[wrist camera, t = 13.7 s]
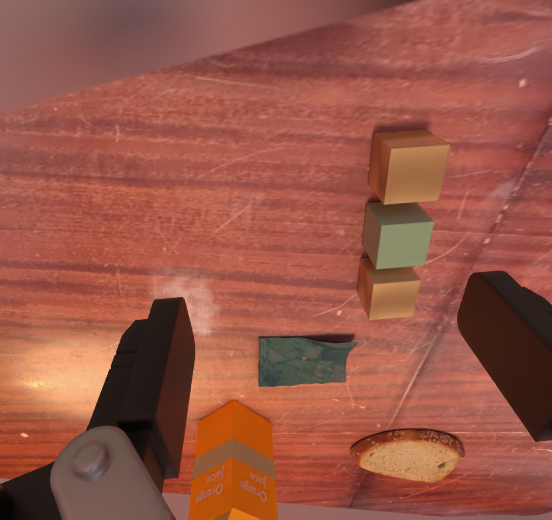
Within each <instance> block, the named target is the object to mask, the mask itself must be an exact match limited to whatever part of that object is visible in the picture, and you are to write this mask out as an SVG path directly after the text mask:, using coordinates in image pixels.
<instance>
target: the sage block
mask: <svg viewBox="0 0 552 520" xmlns="http://www.w3.org/2000/svg"><path fill="white" fill-rule="evenodd" d="M433 225H434V221H433V220H432V219H431V218H430V216H429V215H428V214H427V213H426V212H425V211H424V210H423V209H422V208H421V207H420V206H419V205H418V204H417V203H416V202H411V203H398V204H385V205H384V204H383V203H382V202H372V203H366V212H365V222H364V232H363V242H362V244H363V246H364V248H365V250H366V252H367V253H368V255H369V257H370V259H371V261H372V263H373V265H374V267H375V269H387V268H399V267H411V266H422V265H425V261H426V257H427V252H428V248H429V243H430V239H431V234H432V230H433Z"/></svg>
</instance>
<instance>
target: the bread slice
mask: <svg viewBox="0 0 552 520" xmlns="http://www.w3.org/2000/svg"><path fill="white" fill-rule="evenodd" d="M351 455H352V456H353V457H354V458H355V460H356V461H357V463H358V464H359V465H360V466H361V467H362V468H364V469H367V470H370V471H371V472H375V473H380V474H382V475H387V476H392V477H396V478H404V479H410V480H417V481H423V482H432V483H435V482H436V481H437V480H442V478H444V477H445V476H447V475H448V474H449V473H450V472H451V471H452V470H453V469H454V468H455V467H456V465H457V464H458V463H459V461H460V459H461V458H463V457H464V456H465V450H464V448H463V446H462V445H461V443H460V442H459V441H458V440H456V439H455V438H453V437H452V436H450V435H447V434H443V433H440V432H435V431H429V430H420V431H415V430H410V429H409V430H397V431H390V432H384V433H380V434H376V435H374V436H370V437H368V438H366V439H363V440H361V441H360V442H358V443H357V444H355V445H354V446H352V449H351Z"/></svg>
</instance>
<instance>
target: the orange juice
mask: <svg viewBox="0 0 552 520" xmlns="http://www.w3.org/2000/svg"><path fill="white" fill-rule="evenodd" d="M275 479H276V478H275V464H274V455H273V441H272V427H271V422H269V421H267V420H266V419H264V418H262V417H261V416H259V415H257V414H256V413H254V412H253V411H251V410H249V409H248V408H246V407H244V406H243V405H241V404H239V403H238V402H236V401H235V400H233V401H231V402H229V403H228V404H226V405H224V406H223V407H221V408H220V409H218V410H216V411H215V412H213V413H212V414H210V415H208V416H207V417H205V418H203V419H202V420H200V421H199V424H198V433H197V442H196V452H195V460H194V466H193V476H192V489H191V498H190V508H189V517H188V520H278V512H277V497H276V483H275Z"/></svg>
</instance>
